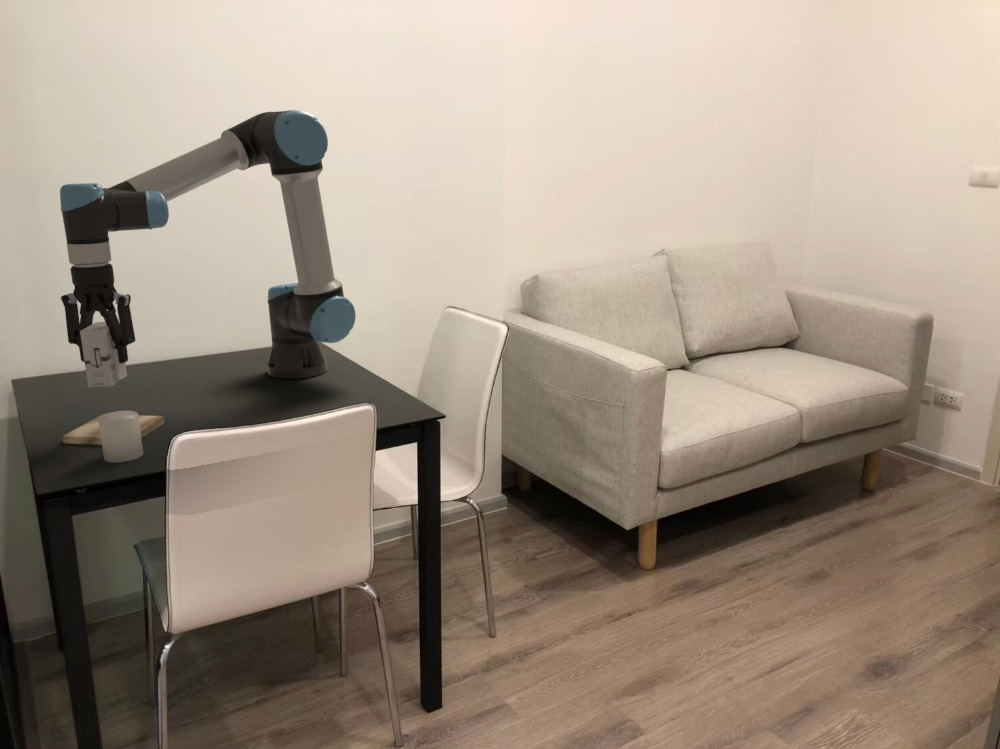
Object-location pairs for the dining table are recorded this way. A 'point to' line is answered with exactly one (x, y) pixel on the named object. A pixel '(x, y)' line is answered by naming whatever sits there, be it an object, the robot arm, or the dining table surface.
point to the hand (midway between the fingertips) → (107, 377)
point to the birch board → (91, 430)
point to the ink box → (98, 355)
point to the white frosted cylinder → (120, 436)
